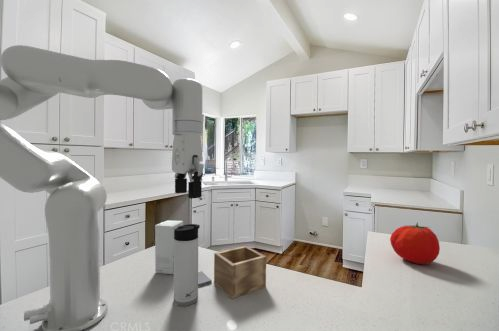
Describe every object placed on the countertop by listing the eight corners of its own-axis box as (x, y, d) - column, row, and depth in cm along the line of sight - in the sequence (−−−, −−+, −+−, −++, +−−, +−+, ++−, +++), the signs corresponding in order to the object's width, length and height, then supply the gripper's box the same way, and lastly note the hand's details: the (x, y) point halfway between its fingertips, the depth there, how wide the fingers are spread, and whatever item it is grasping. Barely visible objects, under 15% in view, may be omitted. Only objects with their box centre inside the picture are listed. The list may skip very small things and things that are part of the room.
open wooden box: (232, 298, 68) (232, 265, 67) (214, 282, 76) (214, 253, 76) (265, 286, 74) (266, 256, 74) (245, 272, 83) (246, 245, 83)
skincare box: (172, 275, 81) (172, 226, 80) (153, 273, 82) (153, 225, 81) (184, 264, 89) (184, 220, 88) (166, 262, 90) (167, 219, 90)
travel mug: (194, 308, 63) (194, 229, 63) (169, 305, 64) (169, 227, 64) (202, 294, 70) (203, 222, 69) (179, 292, 71) (180, 221, 70)
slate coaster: (189, 289, 72) (189, 286, 72) (180, 279, 78) (180, 277, 78) (211, 282, 76) (211, 280, 76) (201, 273, 82) (201, 271, 82)
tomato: (434, 259, 97) (436, 223, 96) (443, 273, 84) (445, 233, 84) (388, 251, 104) (389, 218, 103) (390, 264, 91) (391, 226, 91)
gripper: (163, 131, 70) (163, 192, 71) (185, 125, 56) (185, 201, 57) (188, 132, 75) (188, 190, 75) (216, 127, 61) (215, 198, 61)
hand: (187, 195), depth 66 cm, fingers open, 9 cm apart
